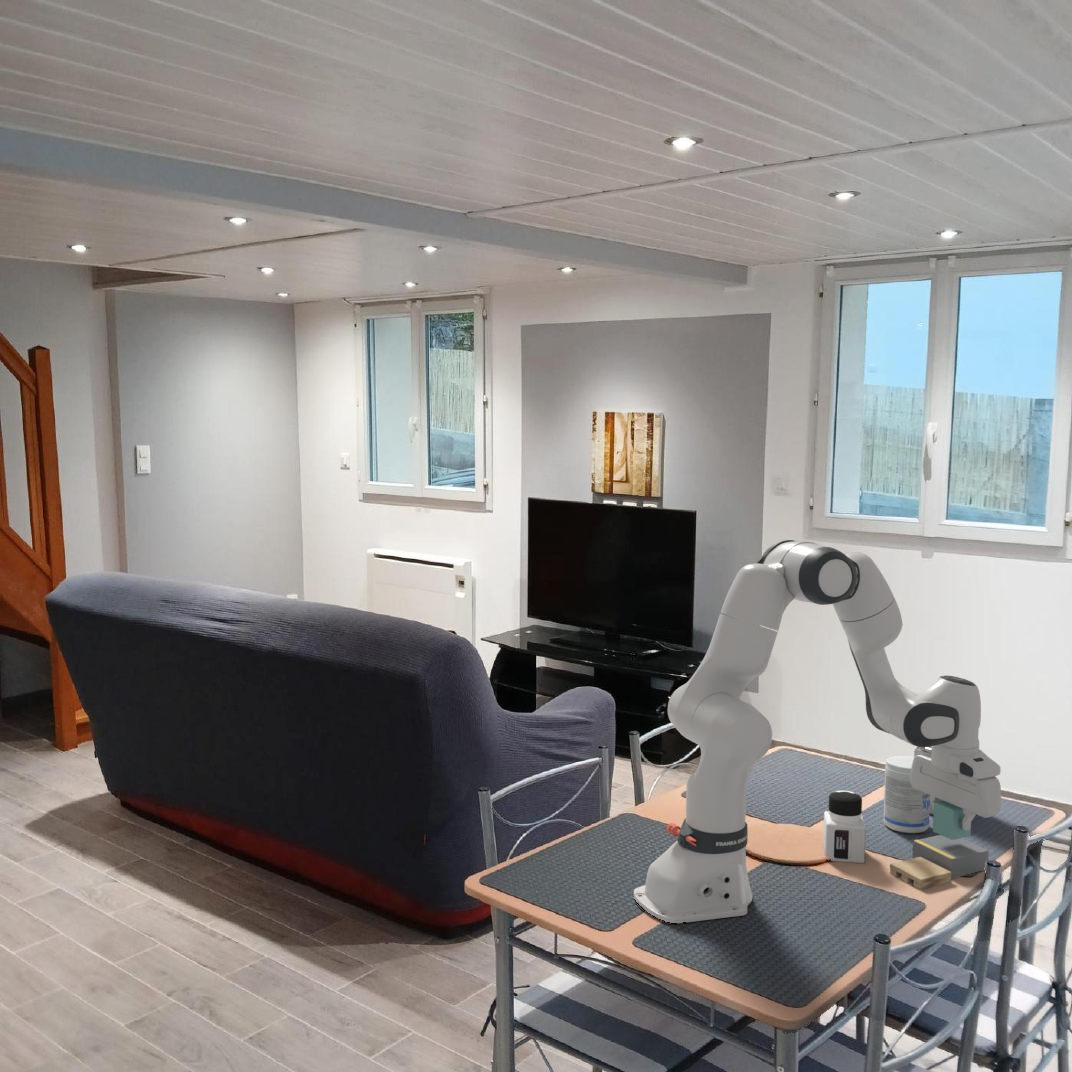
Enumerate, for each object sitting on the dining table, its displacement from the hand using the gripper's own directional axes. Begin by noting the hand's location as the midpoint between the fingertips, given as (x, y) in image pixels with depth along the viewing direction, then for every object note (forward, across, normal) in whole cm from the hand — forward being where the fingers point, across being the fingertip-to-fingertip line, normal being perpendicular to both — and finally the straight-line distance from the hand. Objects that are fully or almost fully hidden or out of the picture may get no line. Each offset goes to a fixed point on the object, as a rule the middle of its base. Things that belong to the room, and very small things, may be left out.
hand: (951, 823), depth 213 cm
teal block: (+2, 0, 0) cm, 2 cm away
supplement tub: (+9, -19, +7) cm, 22 cm away
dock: (+9, 0, 0) cm, 9 cm away
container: (+9, -13, -16) cm, 22 cm away
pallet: (+9, +2, -10) cm, 13 cm away
